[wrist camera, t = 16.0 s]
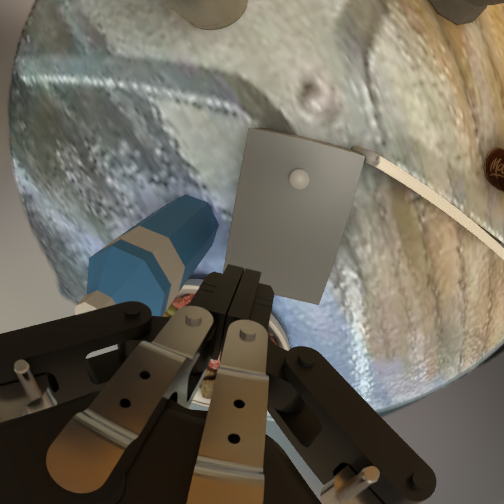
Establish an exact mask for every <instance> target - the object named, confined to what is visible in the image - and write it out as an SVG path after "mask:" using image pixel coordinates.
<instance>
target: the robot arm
mask: <svg viewBox="0 0 504 504" xmlns="http://www.w3.org/2000/svg"><path fill="white" fill-rule="evenodd" d="M161 1H163V2H164V3H165V4H167V5H168V6H169V7H171V8H172V9H173V10H175V11H176V12H177V13H178V14H180V15H181V16H182V17H183V18H185V19H186V20H187V21H188V22H190V23H191V24H192V25H194V26H196V27H198V28H201V29H207V30H212V29H219V28H223V27H225V26H228V25H230V24H232V23H233V22H235V21H236V20H237V19H238V18H240V16H241V15H242V14H243V13H244V11H245V9H246V6H247V0H161ZM261 273H262V272H260V271H256V270H251V269H247V268H245V271H244V268H243V267H239V266H235V265H231V264H228V265H227V267H226V269H225V271H224V273H223V274H221V273H217V272H212V273H211V274H209V275H207V276H206V277H205V278H204V280H203V282H202V284H201V285H200V287H199V289H198V290H197V292H196V293H195V295H194V297H193V298H192V300H191V302H190V303H189V305H188V306H185V307H182V308H180V309H178V310H177V311H176V312H175V313H174V315H173V316H170V317H162V316H152V312H151V309H150V308H149V307H148V306H147V305H146V304H144V303H141V302H137V301H127V302H123V303H119V304H115V305H112V306H108V307H104V308H100V309H96V310H93V311H89V312H85V313H81V314H77V315H74V316H70V317H66V318H62V319H58V320H54V321H50V322H46V323H42V324H39V325H34V326H30V327H27V328H22V329H18V330H14V331H10V332H6V333H2V334H0V504H322V503H323V504H419V503H421V502H422V501H424V500H426V499H427V498H429V497H430V496H431V495H432V493H433V492H434V490H435V487H436V477H435V474H434V472H433V470H432V469H431V468H430V467H429V466H428V465H427V464H426V463H425V462H424V461H423V460H422V459H421V458H420V457H419V456H418V455H417V454H416V453H415V452H414V451H413V450H412V449H411V448H410V447H409V446H408V444H407V443H406V442H405V441H403V439H402V438H401V437H399V435H398V434H397V433H396V432H395V431H394V430H393V429H392V428H391V427H390V426H389V425H388V424H387V423H386V422H385V421H384V420H383V419H382V418H381V417H380V416H379V415H378V414H377V413H376V412H375V411H374V410H373V409H372V407H371V406H370V405H369V404H368V403H367V402H366V401H365V400H364V399H363V398H362V397H361V396H360V395H359V394H358V393H357V392H356V391H355V390H354V389H353V388H352V387H351V386H350V384H349V383H348V382H347V381H346V380H345V379H344V378H343V377H342V376H341V375H340V374H339V373H338V372H337V371H336V370H335V369H334V368H333V367H332V365H331V364H330V363H329V362H328V361H327V360H326V359H325V358H324V357H323V356H322V355H321V354H320V353H319V352H317V351H316V350H314V349H312V348H309V347H304V346H298V347H294V348H291V349H290V350H289V351H287V350H285V349H283V348H281V347H279V346H277V345H276V344H275V343H274V342H273V341H272V340H271V339H270V337H269V335H268V326H269V321H270V315H271V310H272V304H273V298H274V291H273V289H272V287H271V286H270V285H266V284H262V283H259V282H260V277H261ZM116 344H117V345H118V349H117V350H114V351H111V352H107V353H104V354H101V355H98V356H95V357H91V358H88V359H85V358H86V356H87V355H88V354H89V353H91V352H93V351H97V350H100V349H103V348H106V347H109V346H113V345H116ZM220 352H221V353H220ZM219 355H220V359H219V361H220V365H219V367H218V371H217V375H216V379H215V384H214V388H213V392H212V397H211V401H210V405H209V409H208V411H201V410H191V409H188V408H189V406H190V404H191V402H192V400H193V398H194V396H195V394H196V392H197V390H198V388H199V386H200V384H201V382H202V380H203V378H204V376H205V374H206V370H207V367H208V366H209V363H210V360H211V359H213V360H218V358H219ZM267 409H268V412H269V413H270V415H271V416H272V418H273V419H274V420H275V422H276V423H277V424H278V426H279V427H280V429H281V430H282V431H283V433H284V434H285V436H286V437H287V438H288V440H289V441H290V442H291V444H292V445H293V446H294V447H295V449H296V450H297V452H298V453H299V454H300V456H301V457H302V458H303V460H304V461H305V462H306V463H307V465H308V466H309V467H310V469H311V470H312V471H313V472H314V474H315V475H316V476H317V477H318V478H319V480H320V481H321V482H322V484H323V485H324V486H323V488H322V490H321V494H320V497H321V502H322V503H321V502H320V501H319V499H318V498H317V497H316V495H315V494H314V493H313V491H312V490H311V488H310V487H309V486H308V484H307V483H306V481H305V480H304V479H303V477H302V476H301V474H300V473H299V472H298V470H297V469H296V467H295V466H294V464H293V463H292V462H291V460H290V459H289V457H288V456H287V454H286V453H285V451H284V450H283V449H282V448H281V447H280V446H279V444H278V443H276V442H275V441H274V440H273V439H272V438H270V437H269V436H268V435H266V434H265V433H266V418H267Z"/></svg>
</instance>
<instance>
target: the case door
mask: <svg viewBox="0 0 504 504" xmlns="http://www.w3.org/2000/svg"><path fill="white" fill-rule="evenodd" d="M351 150H353V151H355V152H357V153H359V154H361V155H364V156H365V159H364V161H365V162H366V163H368V164H370V165H372V166H374V167H376V168H378V169H379V170H381V171H383V172H384V173H386V174H388V175H389V176H391V177H393V178H394V179H396V180H397V181H399V182H401V183H402V184H404V185H405V186H407V187H408V188H410V189H411V190H413V191H414V192H416V193H417V194H419V195H420V196H422V197H423V198H425V199H426V200H428V201H429V202H431V203H432V204H433V205H435V206H436V207H438V208H439V209H440V210H442V211H443V212H445V213H446V214H447V215H449V216H450V217H451V218H453V219H454V220H455V221H457V222H458V223H459V224H461V225H462V226H463V227H465V228H466V229H467V230H468V231H470V232H471V233H472V234H473V235H475V236H476V237H477V238H478V239H480V240H481V241H482V242H483V243H484V244H486V245H487V246H488V247H489V248H490V249H492V250H493V251H494V252H495V253H496V254H498V255H499V256H500V257H501V258H502V259H503V260H504V244H503V243H502V242H501V241H500V240H498V239H497V238H496V237H494V236H493V235H492V234H490V233H489V232H488V231H486V230H485V229H483V228H482V227H481V226H479V225H477V224H476V223H474V222H473V221H472V220H471V219H470V218H468V217H467V216H466V215H465V214H463V213H462V212H461V211H460V210H458V209H457V208H456V207H454V206H453V205H452V204H450V203H449V202H448V201H446V200H445V199H444V198H442V197H441V196H440V195H438V194H437V193H435V192H434V191H433V190H431V189H430V188H428V187H427V186H426V185H424V184H423V183H421V182H420V181H418V180H417V179H415V178H414V177H412V176H411V175H409V174H408V173H406V172H405V171H403V170H402V169H400V168H399V167H397V166H395V165H394V164H392V163H391V162H389V161H387V160H386V159H384V158H382V157H381V156H380V155H379V154H378V153H375V152H373V151H370V150H367V149H364V148H361V147H358V146H354V147H353V148H352V149H351Z"/></svg>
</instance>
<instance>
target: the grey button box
mask: <svg viewBox="0 0 504 504" xmlns="http://www.w3.org/2000/svg"><path fill="white" fill-rule="evenodd" d="M364 159H365V156H364V155H361V154H359V153H357V152H355V151H353V150H350V149H347V148H344V147H340V146H337V145H333V144H329V143H326V142H322V141H318V140H314V139H310V138H306V137H302V136H297V135H293V134H289V133H284V132H279V131H275V130H270V129H265V128H249V130H248V135H247V141H246V146H245V151H244V156H243V162H242V167H241V172H240V178H239V183H238V189H237V194H236V200H235V206H234V211H233V217H232V223H231V228H230V234H229V240H228V246H227V252H226V258H225V264H224V270H223V273H224V271H225V269H226V267H227V265H228V264H231V265H235V266H239V267H243V268H244V271H245V268H247V269H251V270H256V271H260V272H262V273H261V277H260V282H259V283H262V284H266V285H270V286H271V287H272V289H273V291H274V295H278V296H282V297H286V298H291V299H295V300H299V301H304V302H308V303H312V304H317V305H319V303H320V300H321V297H322V295H323V292H324V289H325V286H326V283H327V281H328V278H329V275H330V272H331V269H332V266H333V263H334V260H335V257H336V254H337V251H338V248H339V245H340V242H341V239H342V236H343V233H344V229H345V226H346V223H347V220H348V216H349V213H350V210H351V206H352V203H353V199H354V196H355V192H356V189H357V185H358V182H359V178H360V174H361V170H362V167H363V163H364Z"/></svg>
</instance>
